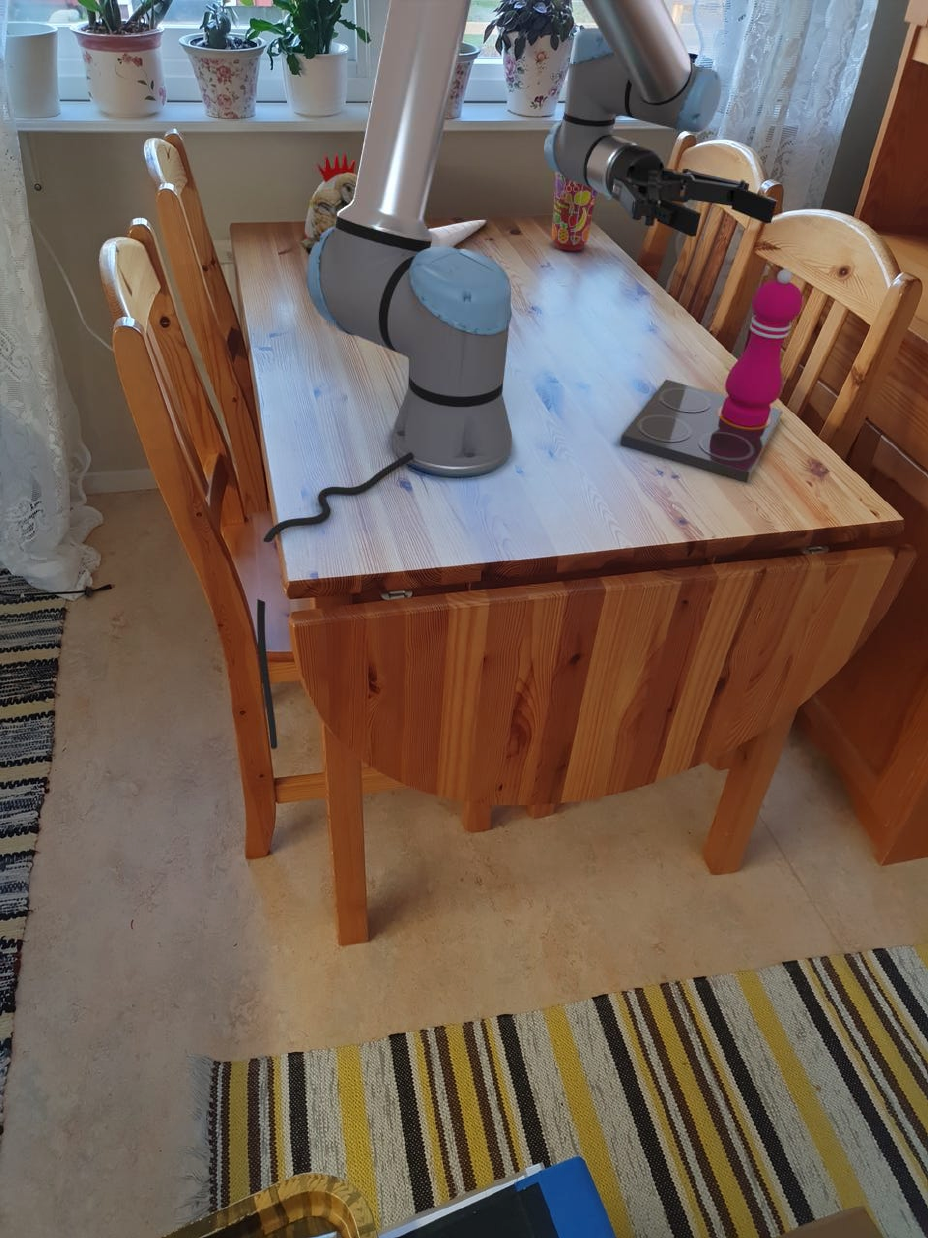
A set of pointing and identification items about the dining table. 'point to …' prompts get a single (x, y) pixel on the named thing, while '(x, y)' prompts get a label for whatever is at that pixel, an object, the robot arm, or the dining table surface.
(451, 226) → the unicorn horn
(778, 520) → the dining table surface
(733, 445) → the hob
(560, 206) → the smoothie
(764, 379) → the pepper mill
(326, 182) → the skull with red mohawk
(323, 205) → the owl figurine
